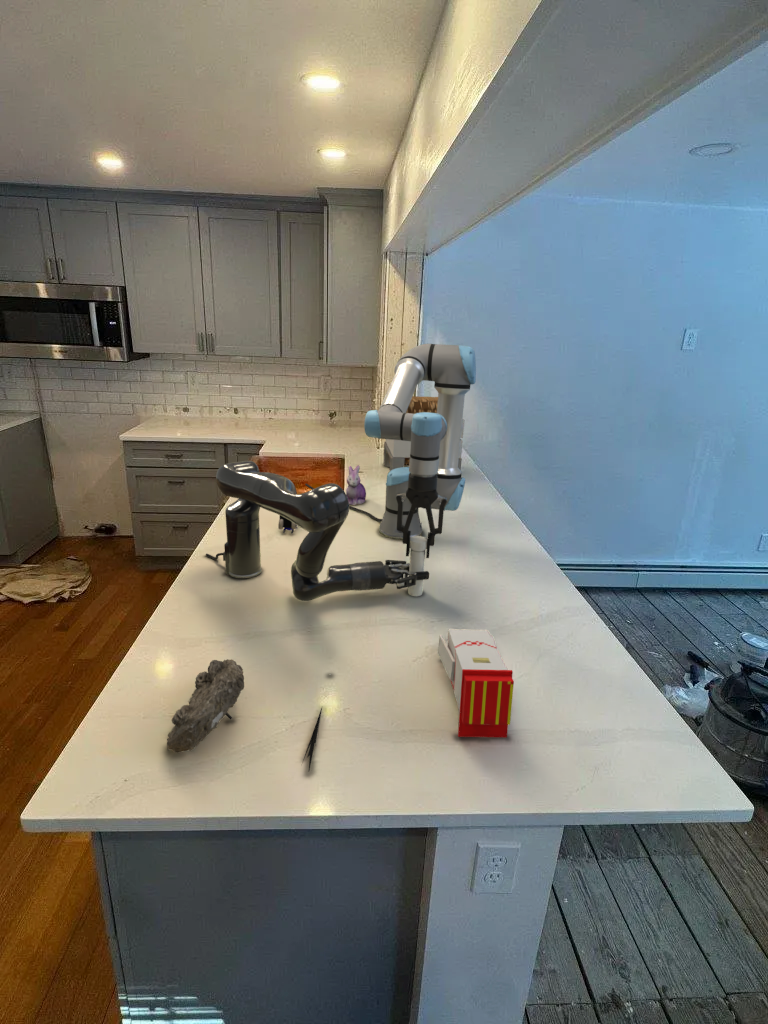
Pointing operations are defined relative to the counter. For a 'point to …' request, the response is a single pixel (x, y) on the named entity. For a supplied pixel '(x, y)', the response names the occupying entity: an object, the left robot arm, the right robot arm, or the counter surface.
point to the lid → (418, 543)
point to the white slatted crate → (400, 450)
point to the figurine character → (286, 524)
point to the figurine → (355, 487)
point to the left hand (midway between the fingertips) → (425, 571)
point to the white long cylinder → (416, 566)
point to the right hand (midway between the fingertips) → (417, 555)
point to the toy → (478, 682)
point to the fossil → (206, 705)
